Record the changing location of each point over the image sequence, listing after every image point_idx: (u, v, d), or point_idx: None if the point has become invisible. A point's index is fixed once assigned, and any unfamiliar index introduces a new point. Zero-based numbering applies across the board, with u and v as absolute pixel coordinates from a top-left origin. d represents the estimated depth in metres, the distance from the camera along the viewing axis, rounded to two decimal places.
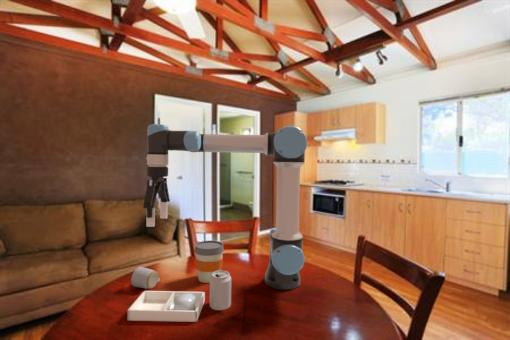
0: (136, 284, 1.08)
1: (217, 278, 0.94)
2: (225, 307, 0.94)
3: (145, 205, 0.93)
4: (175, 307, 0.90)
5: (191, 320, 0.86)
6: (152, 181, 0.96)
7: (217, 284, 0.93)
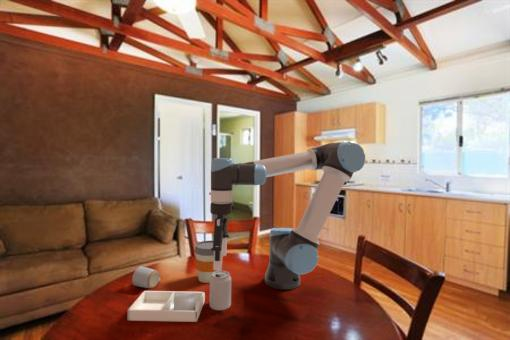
0: (137, 283, 1.08)
1: (217, 278, 0.94)
2: (225, 307, 0.94)
3: (214, 248, 0.86)
4: (175, 307, 0.90)
5: (191, 320, 0.86)
6: (220, 221, 0.89)
7: (217, 284, 0.93)
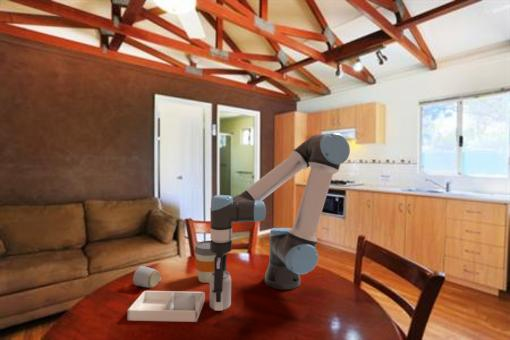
0: (138, 283, 1.09)
1: None
2: (225, 307, 0.94)
3: (215, 291, 0.89)
4: (175, 307, 0.90)
5: (191, 320, 0.86)
6: (219, 265, 0.90)
7: None
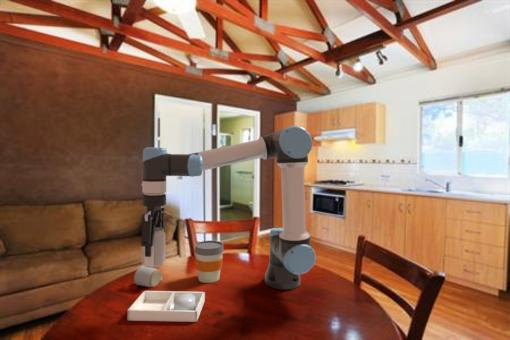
0: (139, 282, 1.09)
1: None
2: (156, 263, 0.89)
3: (143, 244, 0.85)
4: (175, 307, 0.90)
5: (191, 320, 0.86)
6: (148, 216, 0.85)
7: None
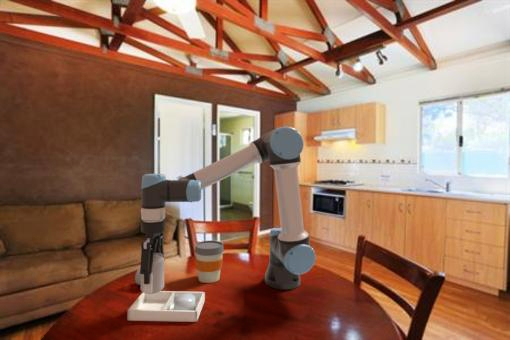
0: (140, 282, 1.10)
1: None
2: (155, 290, 0.90)
3: (142, 273, 0.85)
4: (175, 307, 0.90)
5: (191, 320, 0.86)
6: (146, 245, 0.85)
7: None
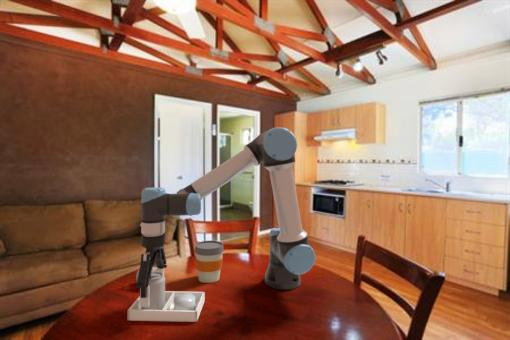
0: None
1: None
2: None
3: (138, 286, 0.82)
4: (175, 307, 0.90)
5: (191, 320, 0.86)
6: (146, 256, 0.85)
7: None
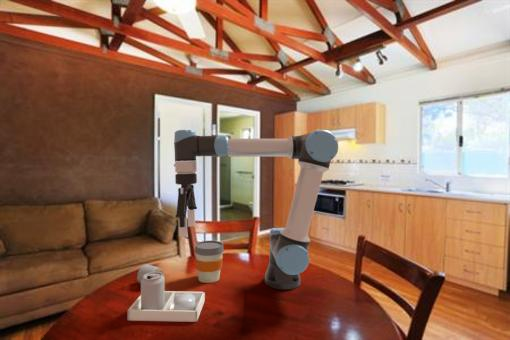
0: None
1: (147, 280, 0.89)
2: None
3: (178, 214, 0.90)
4: (175, 307, 0.90)
5: (191, 320, 0.86)
6: (183, 189, 0.93)
7: (146, 286, 0.89)
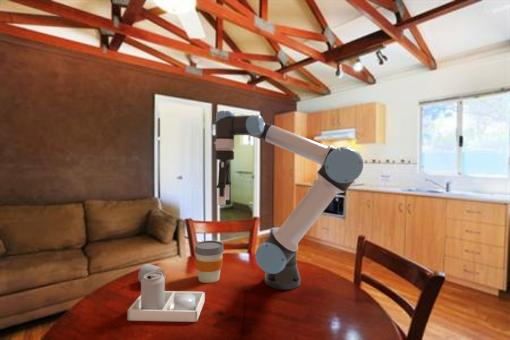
0: None
1: (147, 280, 0.89)
2: None
3: (219, 184, 1.01)
4: (175, 307, 0.90)
5: (191, 320, 0.86)
6: (224, 163, 1.04)
7: (146, 285, 0.89)
